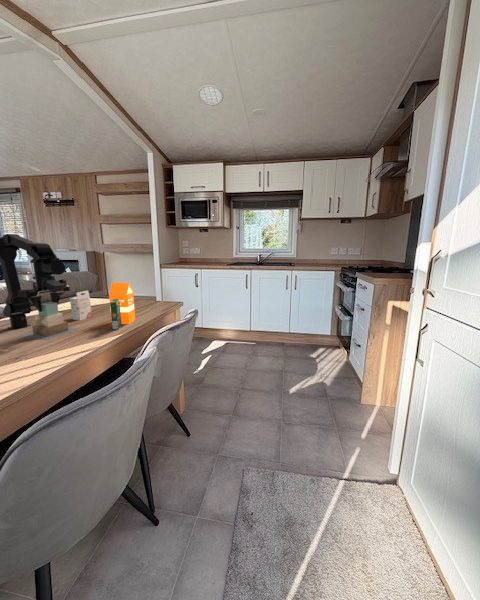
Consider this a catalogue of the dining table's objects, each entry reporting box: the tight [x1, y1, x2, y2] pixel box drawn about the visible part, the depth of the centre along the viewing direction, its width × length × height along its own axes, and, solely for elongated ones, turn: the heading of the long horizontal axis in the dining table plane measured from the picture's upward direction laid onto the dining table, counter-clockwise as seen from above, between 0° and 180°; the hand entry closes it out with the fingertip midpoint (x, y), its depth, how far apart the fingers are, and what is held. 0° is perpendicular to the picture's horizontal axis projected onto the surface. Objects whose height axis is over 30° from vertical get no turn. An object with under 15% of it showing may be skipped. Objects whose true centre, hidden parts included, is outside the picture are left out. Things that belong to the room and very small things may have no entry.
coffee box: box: [109, 299, 123, 331], centre depth 125 cm, size 8×3×13 cm, turn 14°
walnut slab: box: [31, 321, 69, 337], centre depth 117 cm, size 9×9×4 cm
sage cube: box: [37, 301, 60, 317], centre depth 115 cm, size 5×5×5 cm
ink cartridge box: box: [69, 290, 93, 321], centre depth 141 cm, size 9×5×15 cm, turn 168°
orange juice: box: [108, 282, 136, 325], centre depth 134 cm, size 8×9×20 cm
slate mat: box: [19, 327, 81, 341], centre depth 117 cm, size 16×16×1 cm
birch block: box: [34, 312, 65, 327], centre depth 116 cm, size 7×7×4 cm
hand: (48, 310), depth 115 cm, fingers open, 6 cm apart
